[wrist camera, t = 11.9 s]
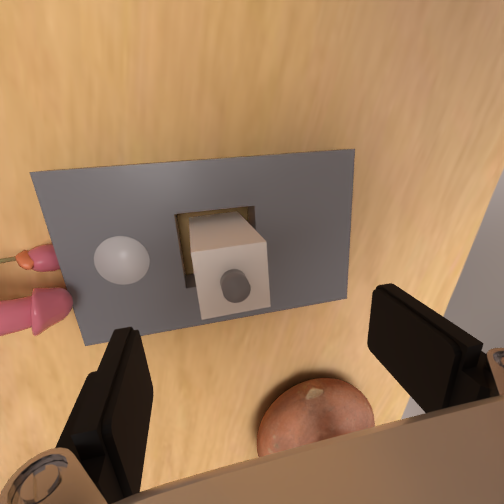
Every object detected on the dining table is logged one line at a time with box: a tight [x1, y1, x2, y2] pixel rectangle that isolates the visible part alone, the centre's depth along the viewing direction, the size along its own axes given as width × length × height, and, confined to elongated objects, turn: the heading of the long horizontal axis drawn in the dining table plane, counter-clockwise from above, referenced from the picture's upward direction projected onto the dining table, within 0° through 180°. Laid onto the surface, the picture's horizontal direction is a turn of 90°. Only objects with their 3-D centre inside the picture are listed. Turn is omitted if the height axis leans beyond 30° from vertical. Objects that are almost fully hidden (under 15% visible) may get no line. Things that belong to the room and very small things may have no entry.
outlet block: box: [30, 149, 355, 346], centre depth 25 cm, size 24×14×3 cm, turn 94°
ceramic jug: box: [257, 378, 375, 457], centre depth 30 cm, size 18×14×14 cm
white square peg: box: [189, 211, 271, 320], centre depth 21 cm, size 4×4×11 cm
